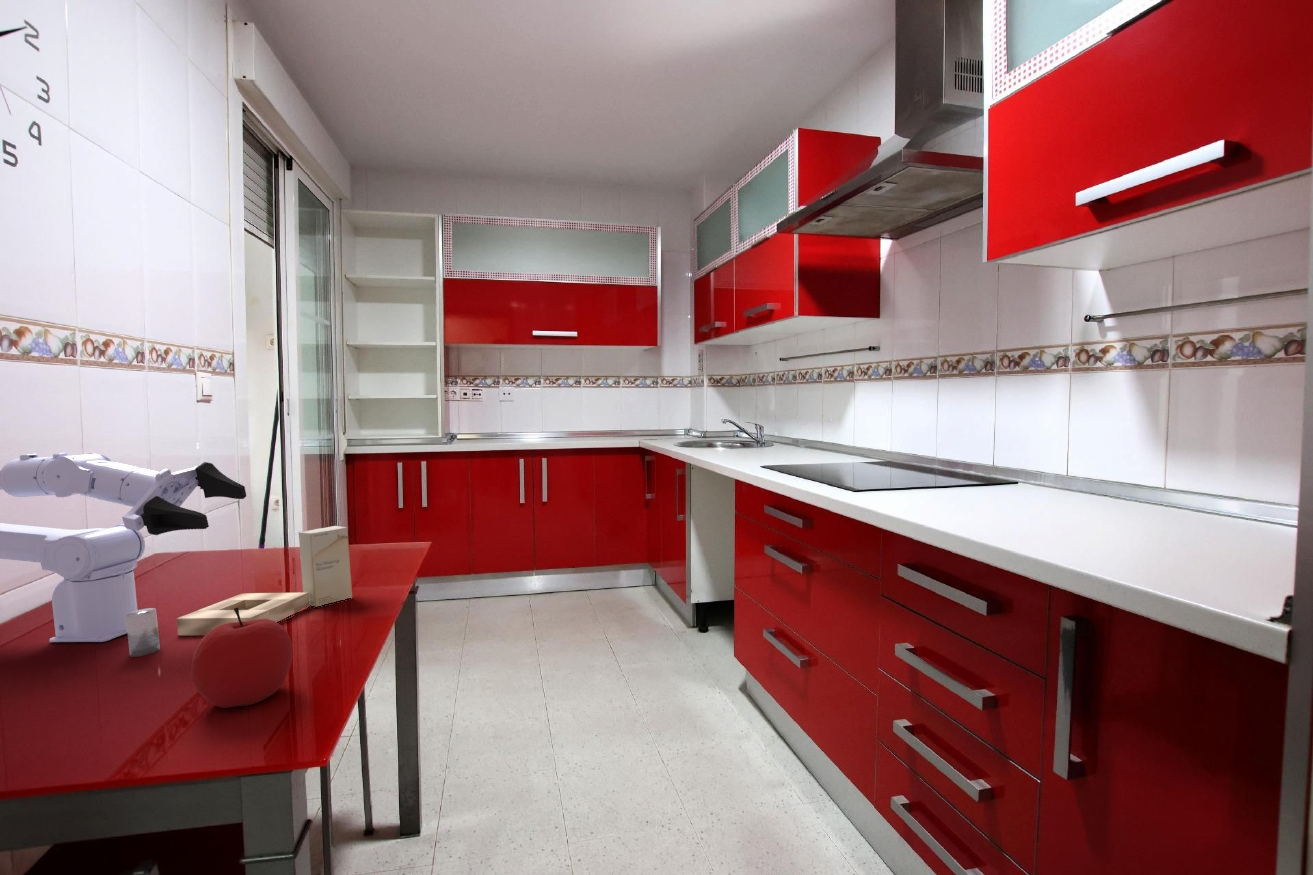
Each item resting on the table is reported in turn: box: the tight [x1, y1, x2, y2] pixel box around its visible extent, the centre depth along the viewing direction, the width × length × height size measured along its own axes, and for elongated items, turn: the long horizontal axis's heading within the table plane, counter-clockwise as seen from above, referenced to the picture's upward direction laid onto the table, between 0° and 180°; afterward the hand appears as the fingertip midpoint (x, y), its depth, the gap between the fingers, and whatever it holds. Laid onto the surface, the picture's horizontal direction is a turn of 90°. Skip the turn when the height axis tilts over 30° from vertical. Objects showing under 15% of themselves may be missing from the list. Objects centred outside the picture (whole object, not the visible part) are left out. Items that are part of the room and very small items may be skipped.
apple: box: [190, 608, 294, 709], centre depth 68 cm, size 9×9×10 cm
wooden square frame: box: [176, 591, 311, 636], centre depth 96 cm, size 12×12×2 cm
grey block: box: [126, 607, 161, 658], centre depth 85 cm, size 3×3×6 cm
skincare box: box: [298, 525, 353, 607], centre depth 104 cm, size 6×4×12 cm
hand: (225, 506), depth 92 cm, fingers open, 7 cm apart
